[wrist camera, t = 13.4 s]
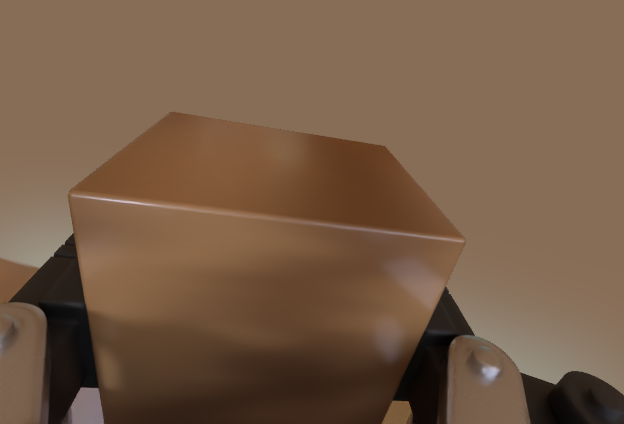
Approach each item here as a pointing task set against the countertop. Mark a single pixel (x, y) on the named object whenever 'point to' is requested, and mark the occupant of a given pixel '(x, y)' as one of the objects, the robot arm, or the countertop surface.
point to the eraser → (255, 275)
